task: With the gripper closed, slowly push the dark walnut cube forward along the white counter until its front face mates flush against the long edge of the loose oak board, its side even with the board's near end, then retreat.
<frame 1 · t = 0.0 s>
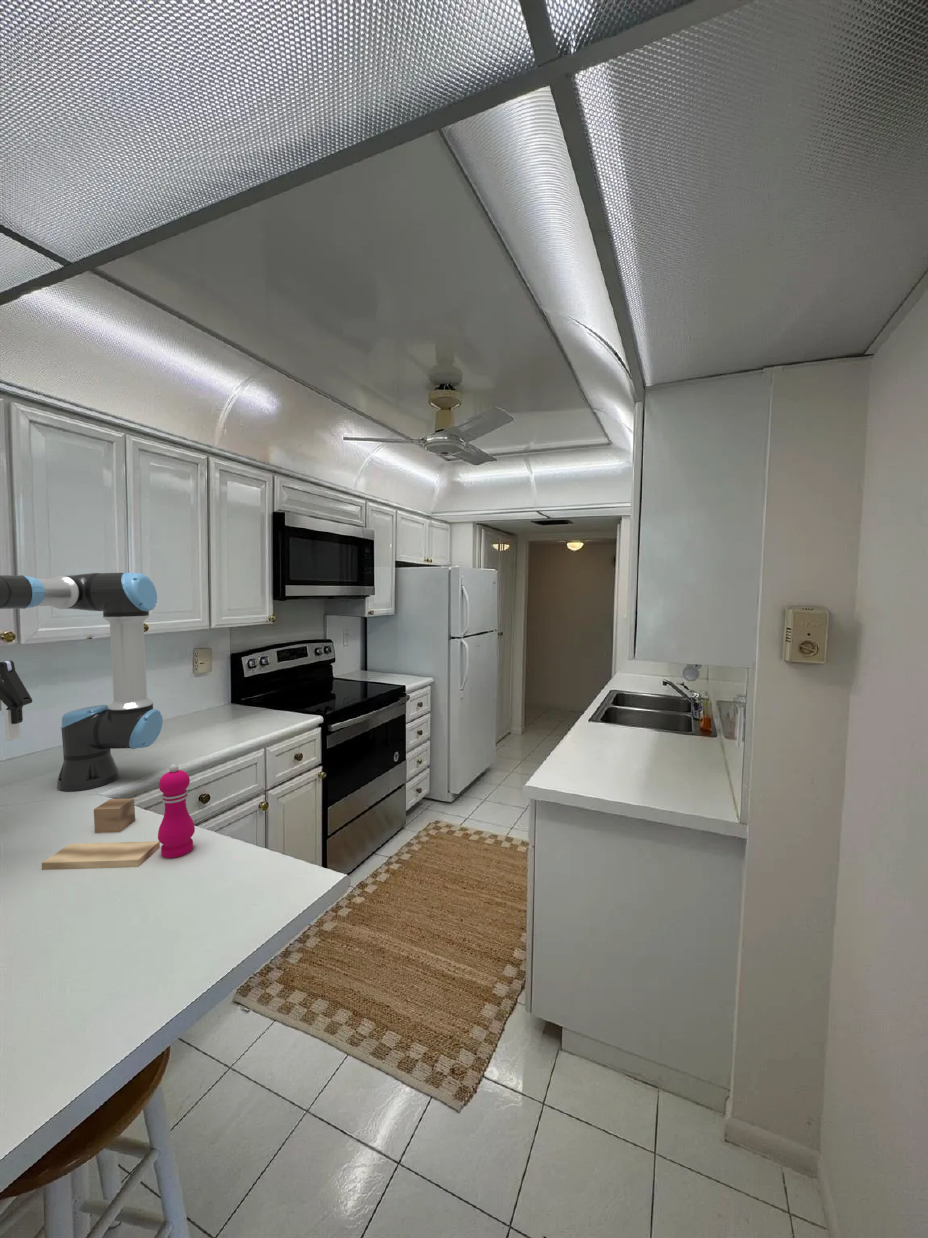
walnut block: (115, 827, 124), on the breakfast bar
oak board: (103, 860, 109), on the breakfast bar
pepper mill: (177, 852, 112), on the breakfast bar
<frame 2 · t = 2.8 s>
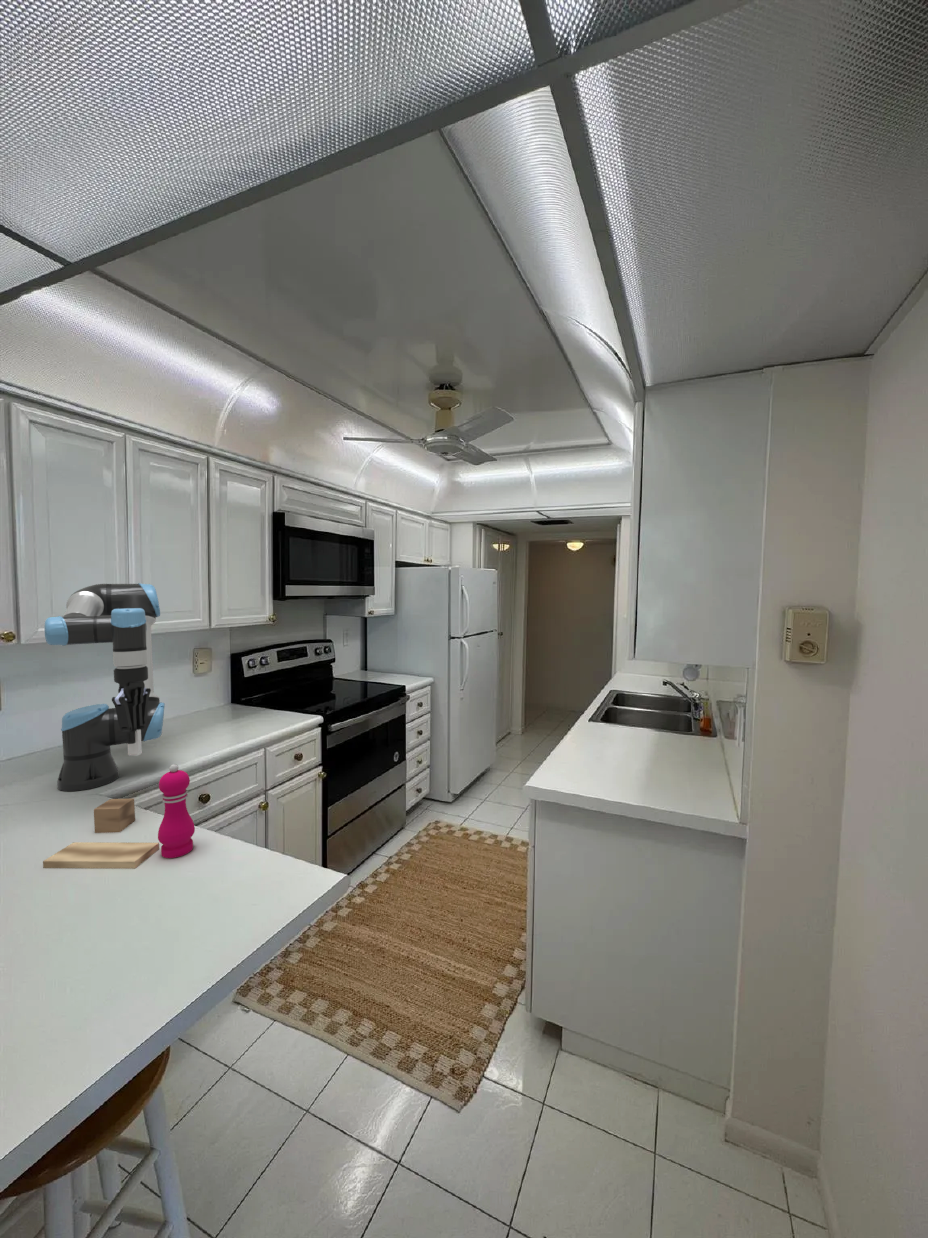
hand: (135, 754, 132), 16 cm above the breakfast bar, fingers closed
nothing on the breakfast bar moved.
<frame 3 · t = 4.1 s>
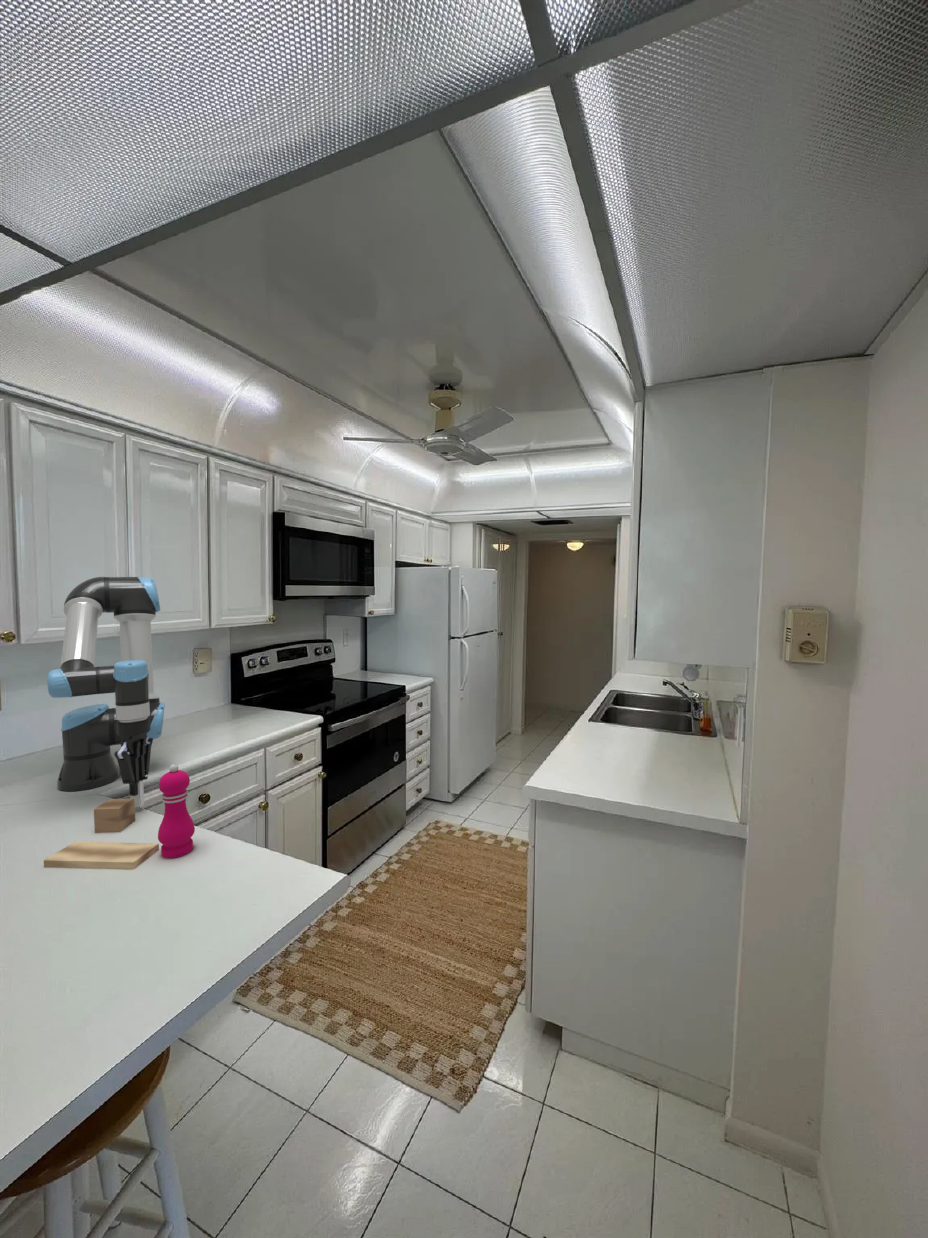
hand: (137, 805, 133), 1 cm above the breakfast bar, fingers closed
nothing on the breakfast bar moved.
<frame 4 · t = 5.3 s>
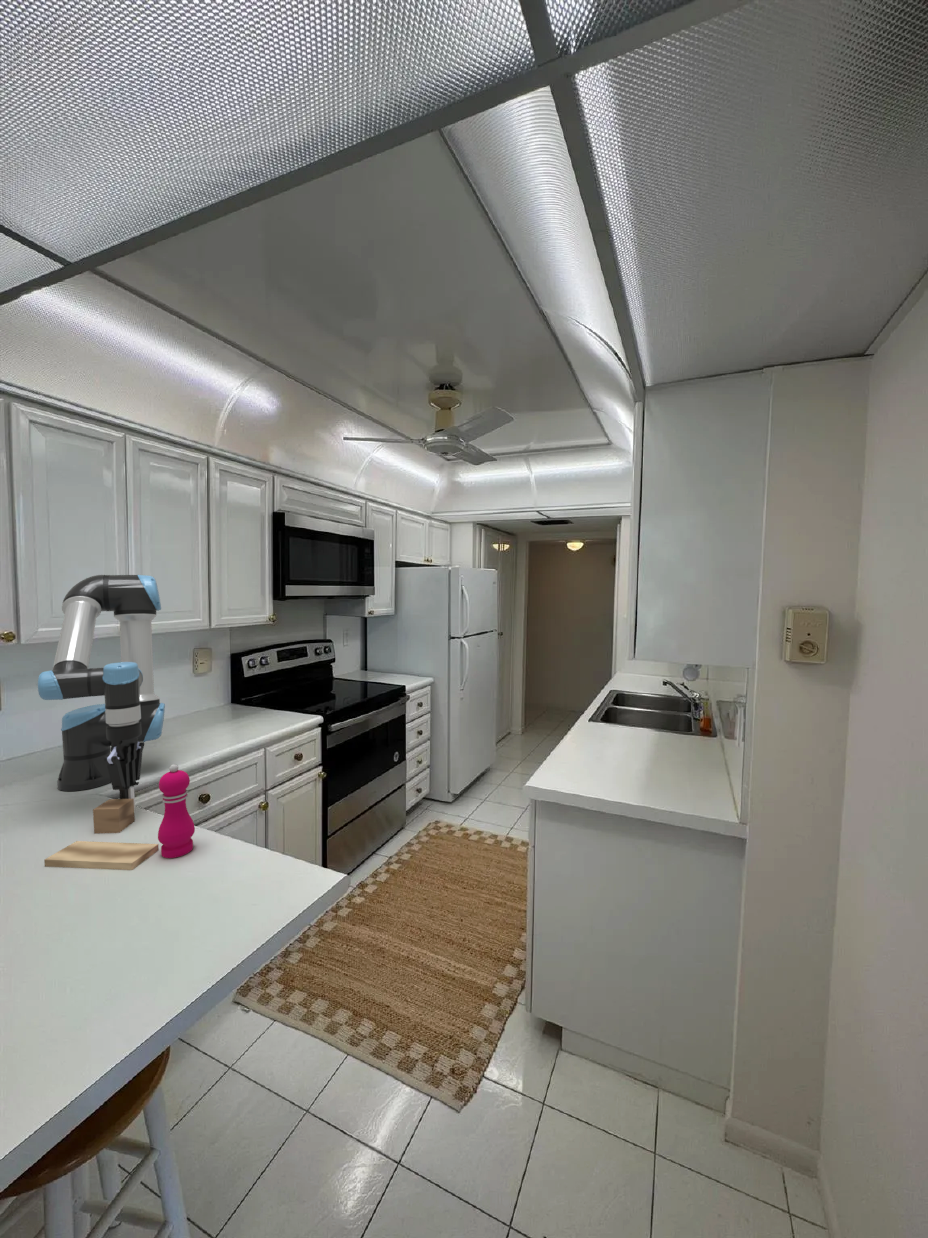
hand: (128, 812, 129), 2 cm above the breakfast bar, fingers closed
walnut block: (115, 827, 124), on the breakfast bar, touching gripper
everything else where it was.
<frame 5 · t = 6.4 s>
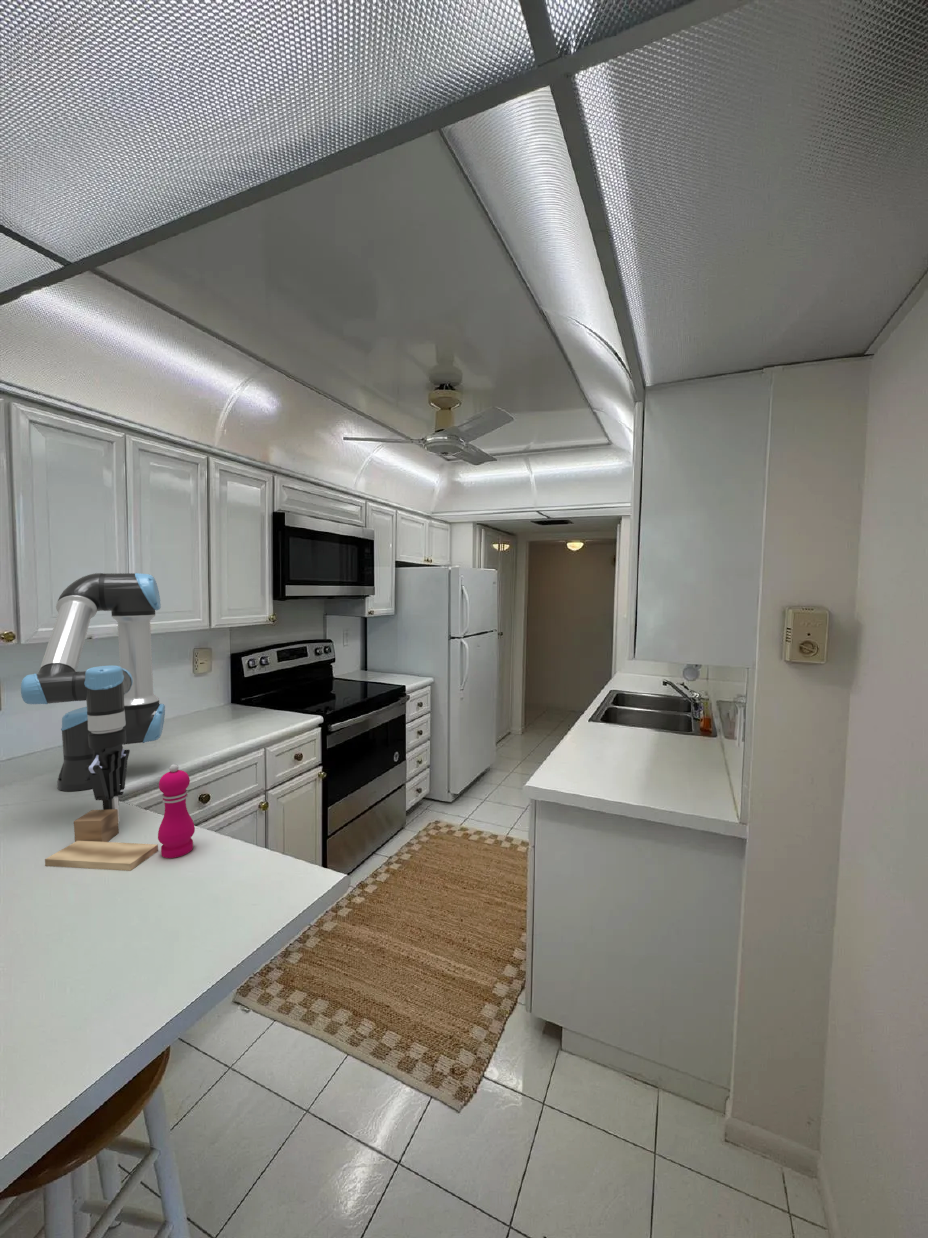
hand: (111, 823, 122), 2 cm above the breakfast bar, fingers closed
walnut block: (97, 839, 117), on the breakfast bar, touching gripper, oak board
oak board: (103, 860, 109), on the breakfast bar, touching walnut block
everything else where it was.
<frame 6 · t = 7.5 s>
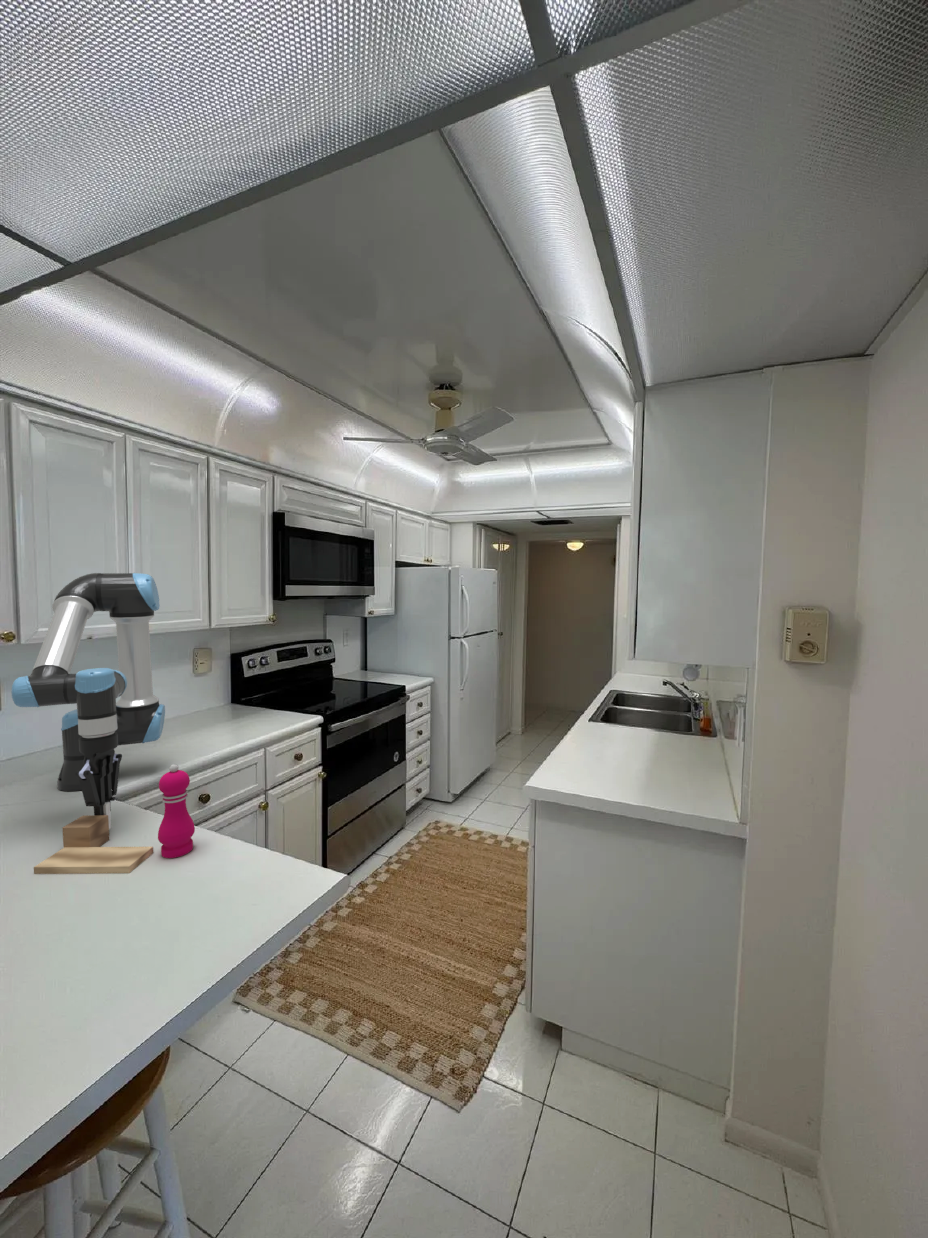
hand: (103, 829, 120), 1 cm above the breakfast bar, fingers closed
walnut block: (87, 846, 114), on the breakfast bar, touching gripper
oak board: (96, 865, 107), on the breakfast bar
everything else where it was.
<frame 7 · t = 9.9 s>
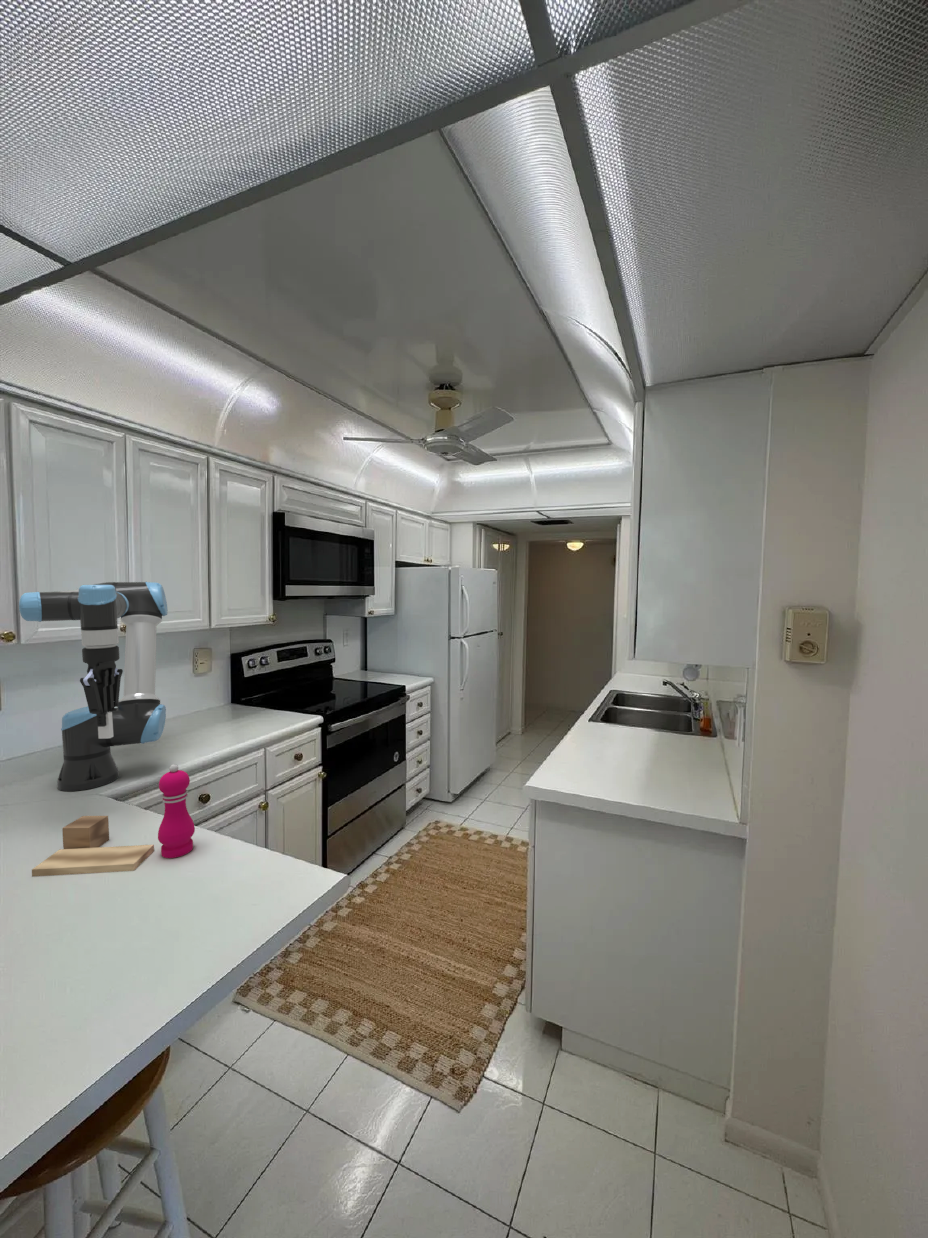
hand: (106, 737, 126), 22 cm above the breakfast bar, fingers closed
walnut block: (87, 847, 114), on the breakfast bar
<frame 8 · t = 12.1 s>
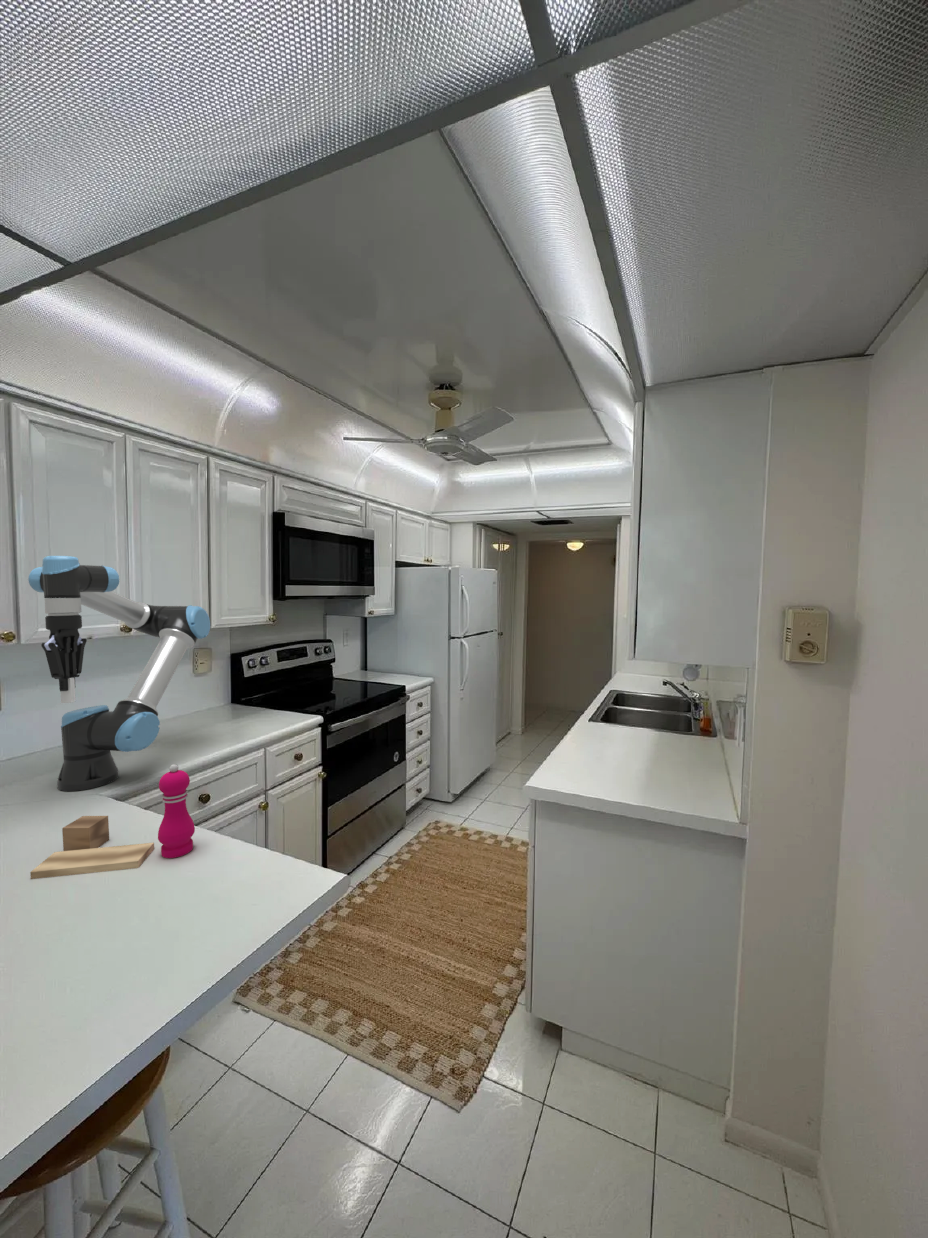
hand: (68, 702, 133), 29 cm above the breakfast bar, fingers closed
at the end: walnut block 0.0 cm from the target spot on the breakfast bar beside the oak board, on the breakfast bar; walnut block tilted 0°; oak board moved 2.1 cm from its start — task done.
